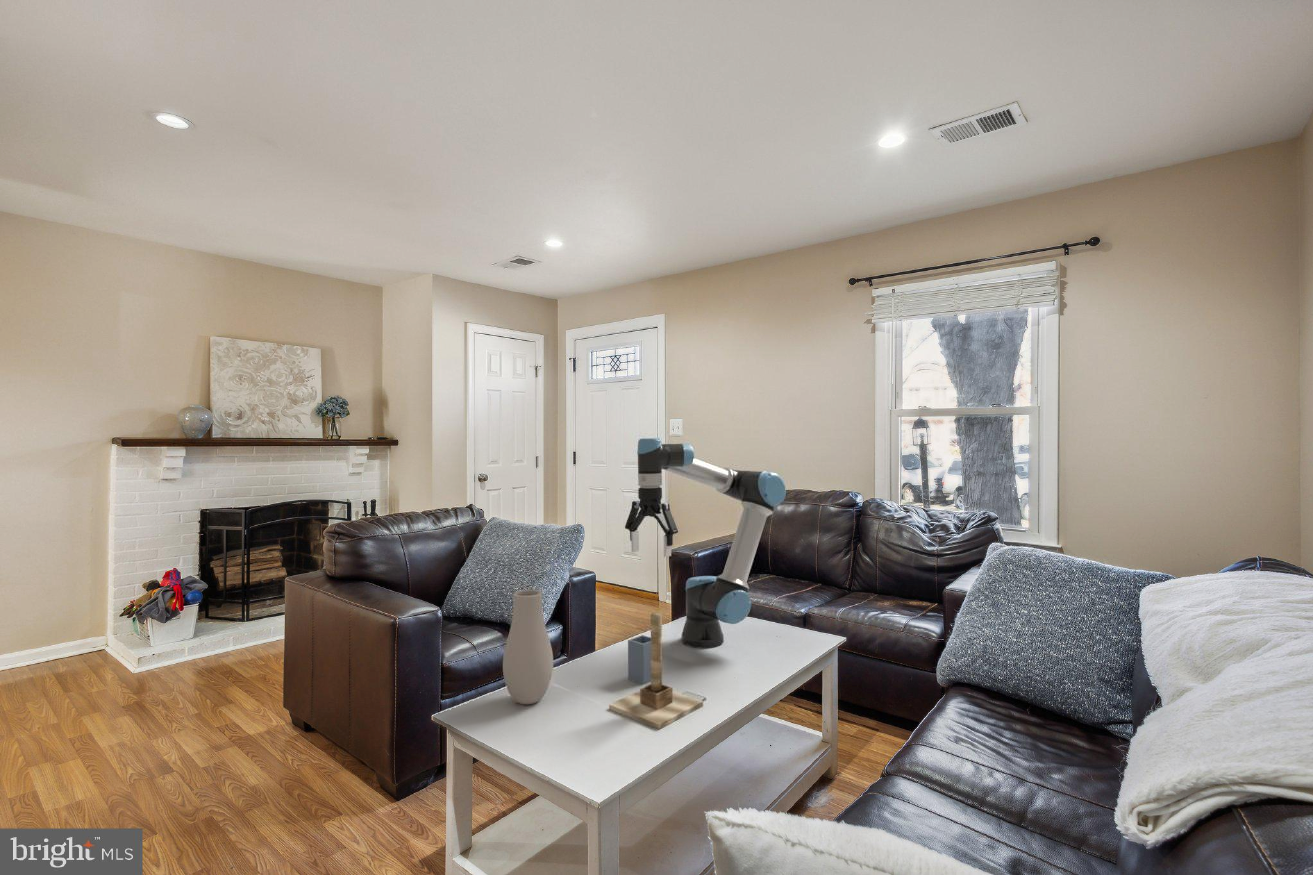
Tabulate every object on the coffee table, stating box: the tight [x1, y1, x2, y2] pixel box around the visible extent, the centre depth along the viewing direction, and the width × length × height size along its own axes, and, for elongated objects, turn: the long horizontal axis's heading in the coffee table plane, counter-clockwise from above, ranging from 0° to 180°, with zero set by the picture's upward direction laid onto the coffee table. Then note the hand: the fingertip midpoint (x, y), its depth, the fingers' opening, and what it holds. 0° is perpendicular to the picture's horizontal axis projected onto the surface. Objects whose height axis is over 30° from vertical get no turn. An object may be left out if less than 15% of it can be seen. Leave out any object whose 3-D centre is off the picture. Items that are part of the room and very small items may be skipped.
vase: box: [502, 589, 554, 705], centre depth 170 cm, size 14×14×30 cm
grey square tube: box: [627, 634, 651, 685], centre depth 185 cm, size 6×6×12 cm
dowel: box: [650, 612, 663, 693], centre depth 165 cm, size 3×3×24 cm
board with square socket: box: [608, 683, 704, 730], centre depth 165 cm, size 18×18×5 cm
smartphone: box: [681, 691, 707, 703], centre depth 167 cm, size 7×1×15 cm
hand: (651, 553), depth 193 cm, fingers open, 13 cm apart
